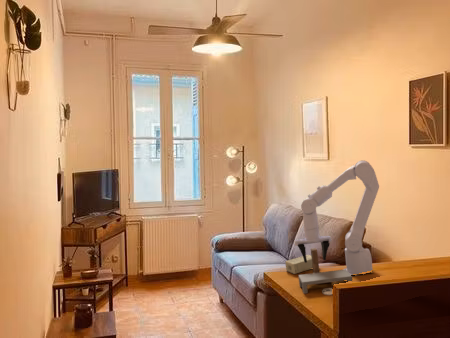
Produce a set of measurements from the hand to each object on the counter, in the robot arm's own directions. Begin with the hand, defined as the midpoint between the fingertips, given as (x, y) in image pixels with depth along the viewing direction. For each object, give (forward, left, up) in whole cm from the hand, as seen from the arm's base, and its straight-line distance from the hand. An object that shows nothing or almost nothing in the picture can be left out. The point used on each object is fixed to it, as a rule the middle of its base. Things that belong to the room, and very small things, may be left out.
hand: (314, 260), depth 175 cm
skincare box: (+10, -4, -3) cm, 11 cm away
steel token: (0, +21, -6) cm, 22 cm away
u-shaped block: (0, +16, -5) cm, 16 cm away
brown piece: (0, +5, -5) cm, 7 cm away
